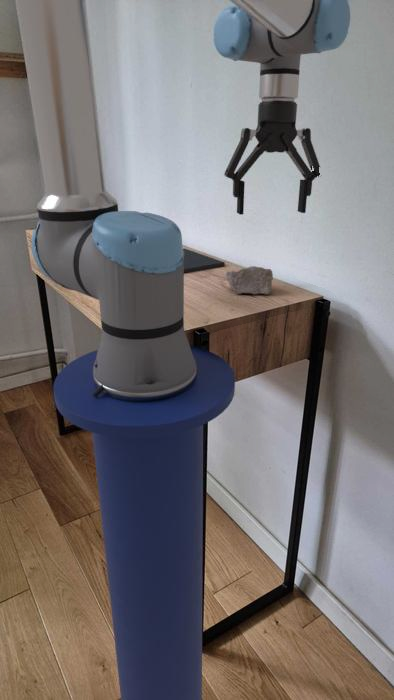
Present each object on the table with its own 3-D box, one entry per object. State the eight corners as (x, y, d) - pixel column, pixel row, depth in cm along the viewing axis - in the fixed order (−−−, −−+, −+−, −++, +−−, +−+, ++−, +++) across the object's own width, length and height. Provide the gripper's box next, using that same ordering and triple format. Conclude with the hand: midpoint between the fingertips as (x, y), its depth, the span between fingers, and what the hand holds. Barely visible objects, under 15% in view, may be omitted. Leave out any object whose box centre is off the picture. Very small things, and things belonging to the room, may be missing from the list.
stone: (274, 287, 110) (276, 262, 107) (268, 298, 103) (270, 271, 100) (232, 284, 112) (233, 259, 110) (223, 294, 105) (224, 268, 103)
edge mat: (224, 266, 127) (224, 262, 127) (179, 273, 120) (179, 269, 120) (184, 251, 143) (184, 248, 142) (142, 257, 136) (142, 254, 135)
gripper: (330, 102, 100) (319, 208, 108) (211, 101, 96) (210, 211, 105) (346, 100, 93) (333, 214, 102) (219, 99, 89) (217, 217, 98)
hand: (271, 213), depth 103 cm, fingers open, 13 cm apart
